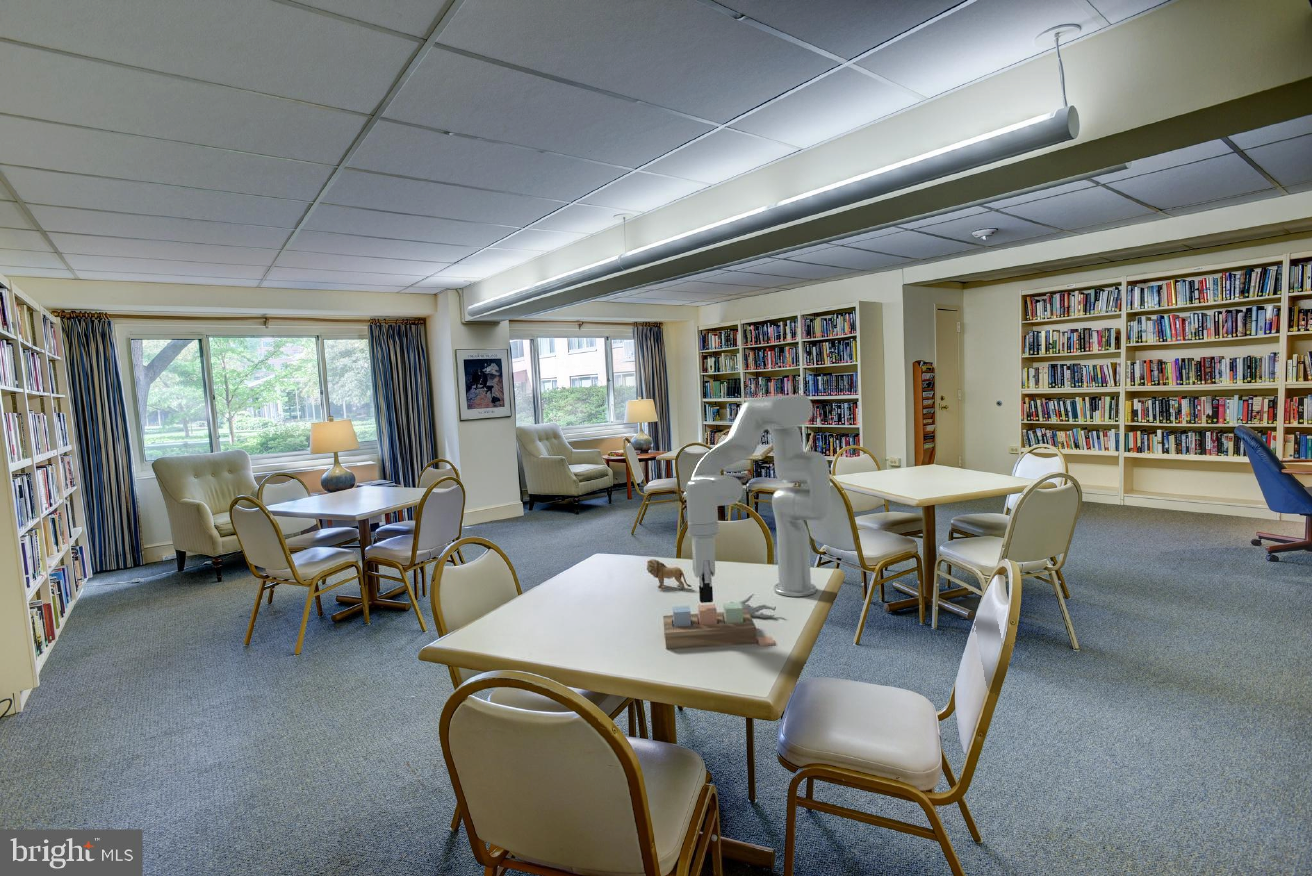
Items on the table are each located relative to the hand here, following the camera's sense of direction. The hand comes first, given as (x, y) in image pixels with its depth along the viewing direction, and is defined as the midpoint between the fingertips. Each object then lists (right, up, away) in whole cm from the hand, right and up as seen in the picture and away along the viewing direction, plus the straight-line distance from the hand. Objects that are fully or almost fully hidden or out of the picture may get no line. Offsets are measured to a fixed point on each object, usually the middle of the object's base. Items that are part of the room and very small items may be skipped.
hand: (706, 601), depth 156 cm
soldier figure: (+14, -8, +13) cm, 21 cm away
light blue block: (-6, -7, 0) cm, 10 cm away
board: (+1, -9, +1) cm, 9 cm away
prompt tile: (+14, -9, -5) cm, 17 cm away
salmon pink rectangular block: (+1, -7, +1) cm, 7 cm away
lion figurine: (-9, -7, +44) cm, 45 cm away
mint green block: (+7, -7, +1) cm, 10 cm away
